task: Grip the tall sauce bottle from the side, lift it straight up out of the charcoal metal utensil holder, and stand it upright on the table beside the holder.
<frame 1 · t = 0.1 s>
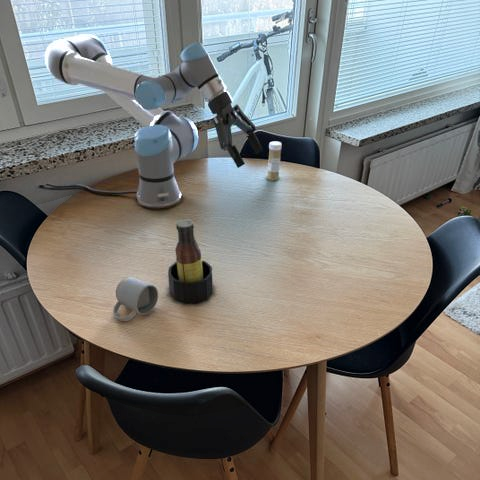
hand: (251, 158, 144), 15 cm above the table, tool tilted 35°, fingers open, 13 cm apart
utensil holder: (191, 291, 115), on the table
ceramic mug: (135, 310, 109), on the table
sprinkles bottle: (273, 178, 169), on the table
sauce bottle: (191, 291, 115), resting in utensil holder
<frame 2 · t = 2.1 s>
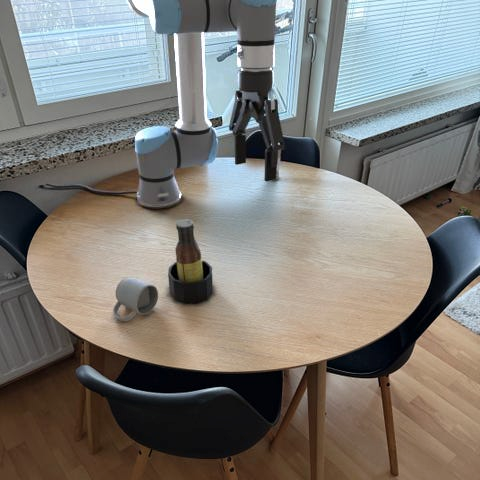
hand: (254, 171, 103), 28 cm above the table, tool pointing down, fingers open, 13 cm apart
nothing on the table moved.
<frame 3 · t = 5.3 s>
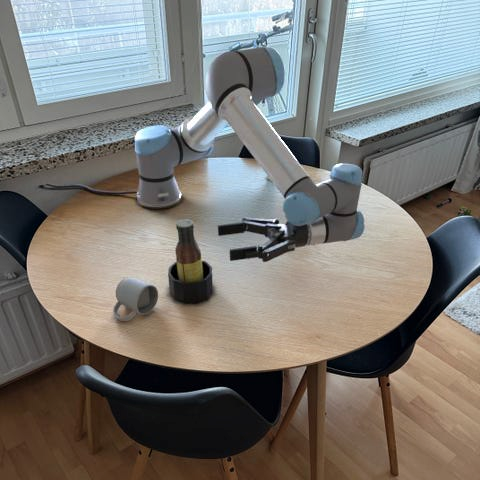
hand: (223, 242, 108), 13 cm above the table, tool horizontal, fingers open, 13 cm apart
nothing on the table moved.
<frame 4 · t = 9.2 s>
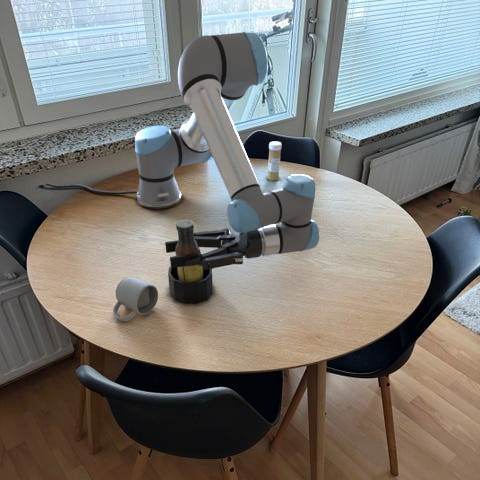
hand: (168, 254, 106), 12 cm above the table, tool horizontal, fingers closed on sauce bottle, 6 cm apart
sauce bottle: (191, 291, 115), resting in utensil holder, touching gripper
everything else where it was.
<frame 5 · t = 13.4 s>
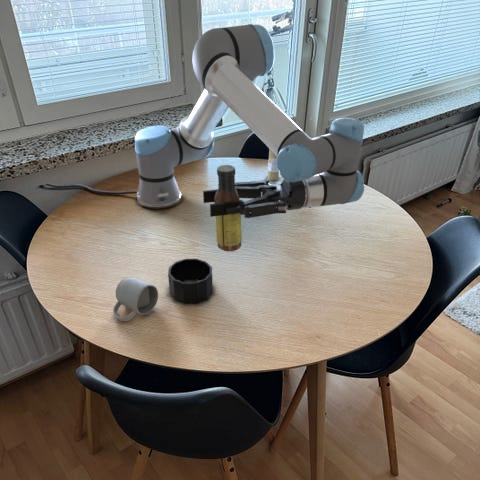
hand: (207, 203, 100), 24 cm above the table, tool horizontal, fingers closed on sauce bottle, 6 cm apart
sauce bottle: (228, 246, 109), point 12 cm above the table, touching gripper
everything else where it was.
when the fingers open (12 cm above the table, at t = 17.7 s): sauce bottle stays where it is, on the table.
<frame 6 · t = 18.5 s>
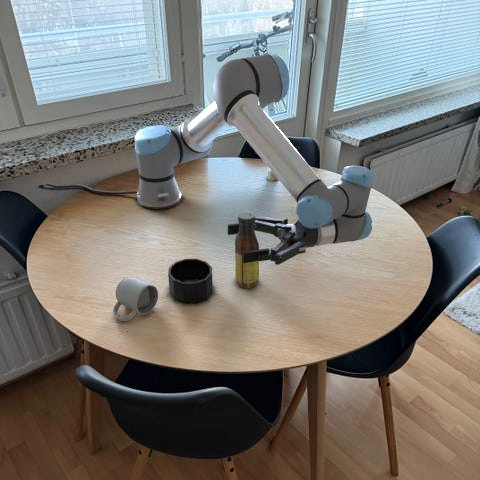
hand: (234, 243, 109), 13 cm above the table, tool horizontal, fingers open, 13 cm apart
sauce bottle: (246, 282, 118), on the table
everything else where it was.
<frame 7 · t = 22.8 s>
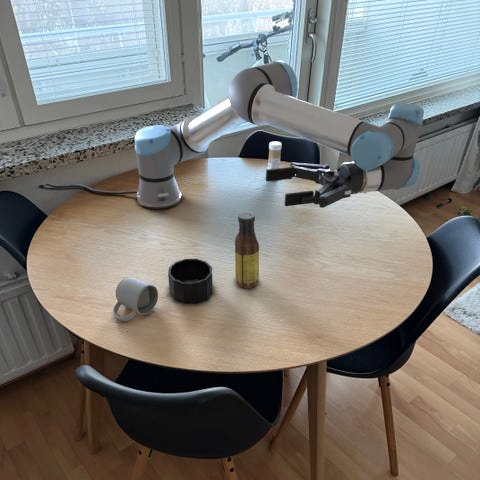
hand: (275, 187, 103), 26 cm above the table, tool horizontal, fingers open, 13 cm apart
nothing on the table moved.
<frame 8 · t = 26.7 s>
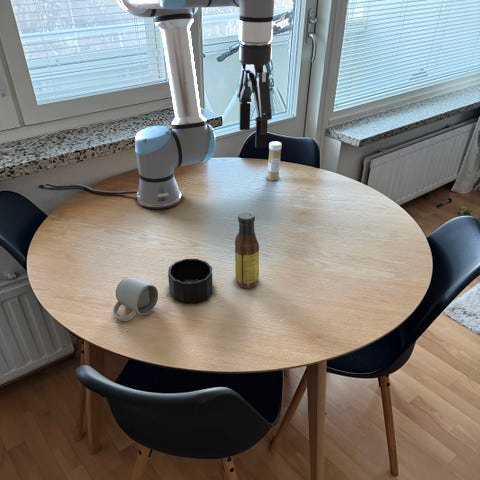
hand: (252, 138, 114), 31 cm above the table, tool pointing down, fingers open, 13 cm apart
nothing on the table moved.
at the end: sauce bottle inside the target area (0.2 cm from its centre), on the table; sauce bottle tilted 0°; the gripper is holding nothing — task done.
